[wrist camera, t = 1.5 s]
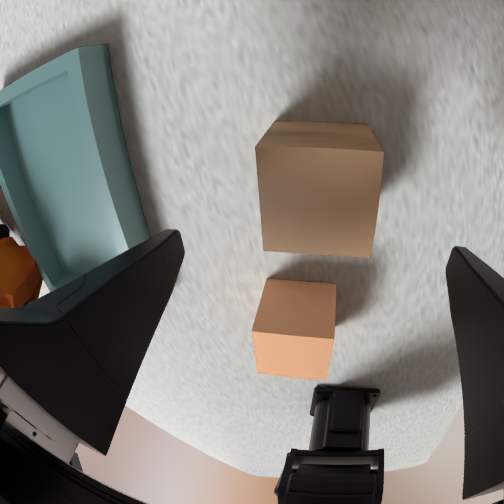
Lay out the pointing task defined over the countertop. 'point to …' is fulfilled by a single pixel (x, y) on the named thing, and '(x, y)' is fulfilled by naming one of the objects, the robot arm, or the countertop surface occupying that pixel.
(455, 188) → the countertop surface
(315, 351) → the block terracotta
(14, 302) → the tool
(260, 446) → the countertop surface
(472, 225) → the countertop surface
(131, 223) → the tray
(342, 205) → the block walnut
